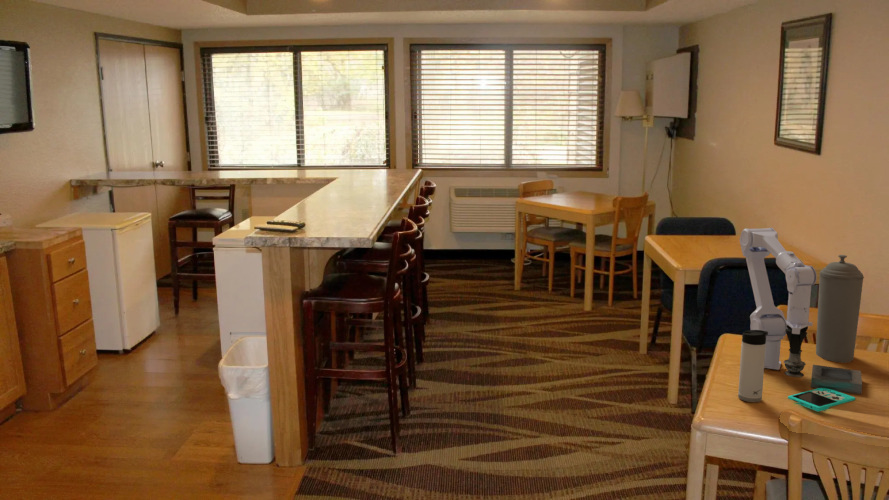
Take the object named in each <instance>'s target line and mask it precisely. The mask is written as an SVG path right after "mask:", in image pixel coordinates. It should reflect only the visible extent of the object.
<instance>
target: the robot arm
mask: <svg viewBox="0 0 889 500" xmlns="http://www.w3.org/2000/svg"><path fill="white" fill-rule="evenodd" d="M739 244H740V248H741V249H740V250H741V253H742V256H743V257H745V259H746V265H747V269H748V274H749V279H750V284H751V288H752V292H753V297H754V301H755V306H756V309H755V310H754V311H753V312H752V313H751V314H750V316H749V319H750V326H749V327H750V330H762V331H768V335H766V349H765V363H764V369H771V370H777V371H779V370H780V369H781V366H782V361H781V360H780V357H781V343H782V340H784V337H785V336H787V339H788V342H789V343H788V344H789V349H790V351H789V353H790V352H791V353H792V354H799V352H800V348H801V349H802V344H803V341H804V340H805V338H806V336H807V334H808V332H807V331H808V329H809V327H813V326H814V324H813V322H812V321H809V318H810V317H809V316H810V308H811V307H810V306H811V295H812V293H811V292H812V286H814V285H815V284H816V282H817V278H818V277H817V276H818V275H817V272H816V269H815V268H814V266H812V265H807V264H804V263H803V262H802V261H801V260H800V258H799V257H798V256H797V255H795V252H793V251H790V250H789V251H788V250H786V249H785V247H784V246H783V245H782V243H781V242H780V241H779V234H778V232H777V230H776V229H774V228H773V227H766V228H744V229H742V231H741V233H740V237H739ZM770 254H771V256H773V257H774V258H775V264H776V265H777V267H778V268H779V269H780V270H781V271H782V273H784V275H785V281H786V286H787V287H786V289H787V291H788V298H787V299H788V300H787V312H786V317H785V315H784V312H783V311H782V310H781V309H780V308H778V307H776V305H775V304H774V302H775V301H774V299H773V295H772V294H773V293H772V289H771V285H770V280H769V276H768V271H767V268H766V263H765V258H766V257H768V256H770Z"/></svg>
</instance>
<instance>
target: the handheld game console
mask: <svg viewBox="0 0 889 500" xmlns="http://www.w3.org/2000/svg"><path fill="white" fill-rule="evenodd" d="M787 399H788V400H791V401H793V403H794V404H797V405H799V406H803V407H805V408H808V409H810V410H813V411H815V412H822V411H826V410H829V409H831V408H832V407H835V406H839V405H842V404H845V403H849V402H852V401H856V397H855V396H852V395H850V394H846V393H845V392H841V391H835V390H832V389H827V388H814V389H810V390H806V391H803V392H799V393H795V394H791V395H788V396H787Z"/></svg>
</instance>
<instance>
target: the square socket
mask: <svg viewBox="0 0 889 500" xmlns="http://www.w3.org/2000/svg"><path fill="white" fill-rule="evenodd" d="M810 379H811V380H810V388H814V389H818V388H827V389H832V390H835V391H838V392H841V393H849V394H855V395H862V389H863V380H862V370H857V369H849V368H848V369H847V368H841V367H833V366H827V365H826V366H825V365H820V364H819V365H817V364H812V369H811V377H810Z"/></svg>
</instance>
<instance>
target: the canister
mask: <svg viewBox="0 0 889 500" xmlns="http://www.w3.org/2000/svg"><path fill="white" fill-rule="evenodd" d="M838 257H839V259H840V260H839V261H833V262H829V263H828V264H827V265H826V266H825V267H823V268H822V269H821V270H820V272H819V273H818V274H819V281H818V299H817V300H818V303H817V320H816V321H817V322H816V339H815V340H816V342H815V343H816V344H815V354H816V356H817V357H819V358H821V359H824V360H826V361H830V362H834V363H839V362H841V363H842V364H844V363H845V364H846V363H847V362H848V363H851V361H852V360H853V361H854V357H855V351H856V350H855V349H856V340H857V332H858V326H859V325H858V324H859V317H860V309H861V302H862V301H861V300H862V292H863V282H864V279H865V277H864V274H863V272H861V270H860V269H859V268H858V266H856V265H855V264H854V263H850V262H846V260H845V259H846V258H847V257H848V255H845V254H839V255H838ZM853 361H852V362H853Z"/></svg>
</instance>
